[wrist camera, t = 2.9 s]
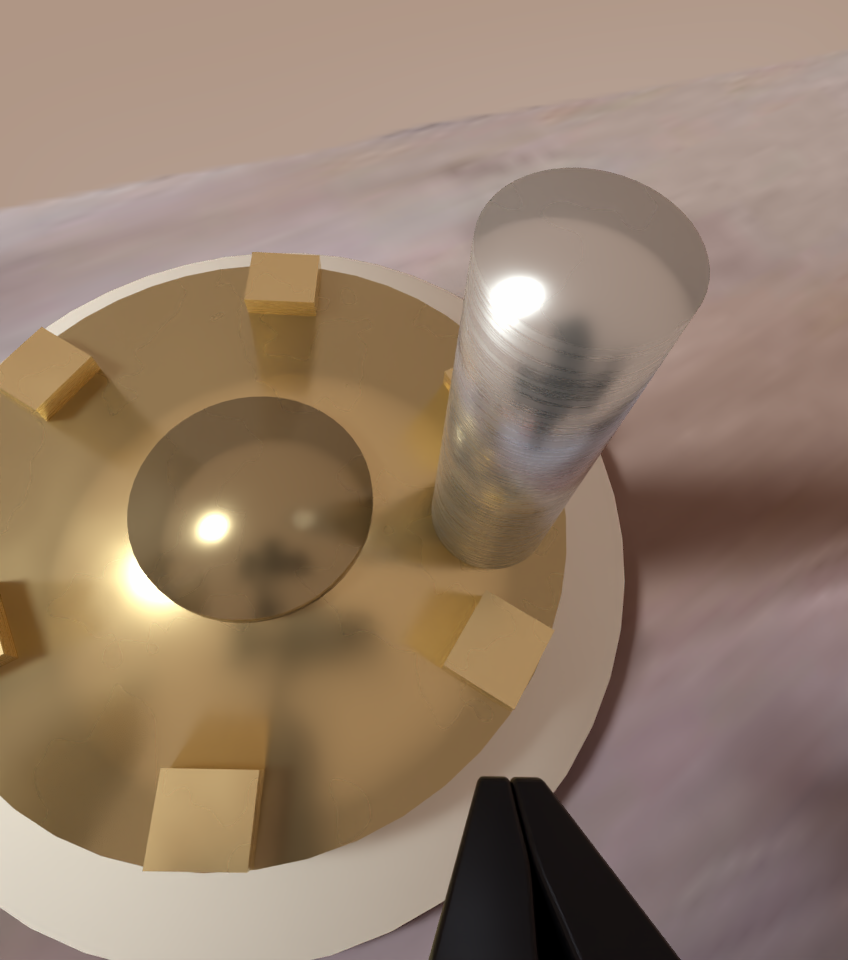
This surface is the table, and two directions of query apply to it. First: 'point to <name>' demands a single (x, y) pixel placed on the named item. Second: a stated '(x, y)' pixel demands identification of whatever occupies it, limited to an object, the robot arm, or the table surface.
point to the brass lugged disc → (310, 525)
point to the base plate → (376, 857)
